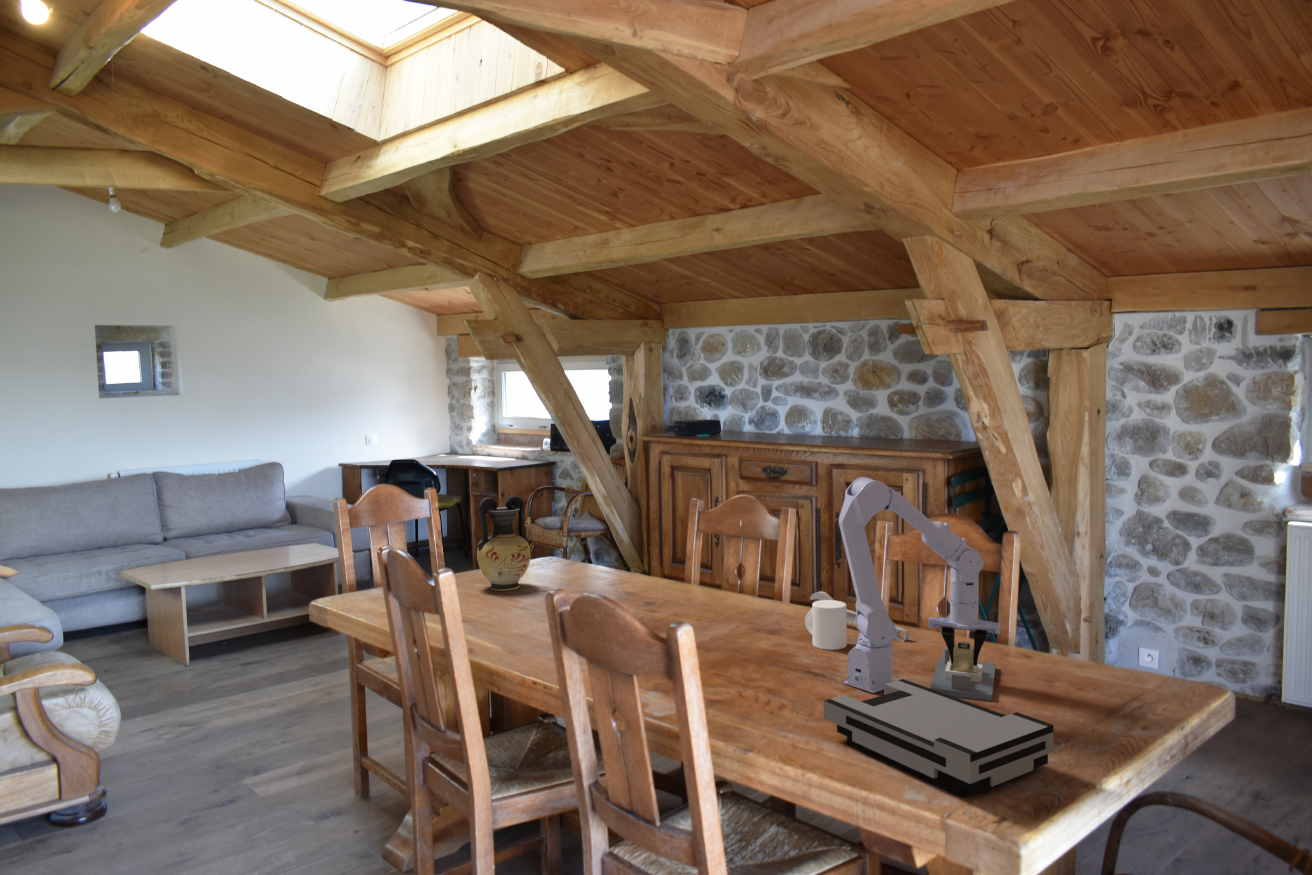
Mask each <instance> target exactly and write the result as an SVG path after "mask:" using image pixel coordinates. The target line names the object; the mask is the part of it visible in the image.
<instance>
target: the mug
mask: <svg viewBox="0 0 1312 875" xmlns="http://www.w3.org/2000/svg"><path fill="white" fill-rule="evenodd" d="M811 606H812V608H811V609H810V610H809V611H808V612H807V613H806V615H805V618H804V625H805V628H806V630H807V632H809V634H811V636H812V645H813V647H815V648H817V649H820V650H827V651H828V650H829V651H835V650H838V651H839V650H841V649H844V648H846V647H847V641H848V638H847V631H848V630H847V628H848V627H847V626H848V624H847V623H848V621H847V609H848V608H847V604H846V602H844V601H840V600H835V599H834V600H820V601H819V600H815V601H813V602H812V605H811Z"/></svg>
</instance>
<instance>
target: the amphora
mask: <svg viewBox="0 0 1312 875" xmlns="http://www.w3.org/2000/svg"><path fill="white" fill-rule="evenodd" d="M517 512H518V514H517ZM478 513H479V514H478V516H479V521H480V530H481V532H480V533H481V537H480V540H479V541H478V542H477V543H476V548H477V552H476V560H477V564H478V566H479V570H480V571H481V573H482V575H483V576H484V578H486V579H487V581H489V583H490V585H491V586H490V590H493V591H497V592H506V591H515V590H517V589H519V588H520V586H521V585H520V583H519V581H520V580H521V578H522V577H524V575H525V574H526V572H527V570H528V568H529V565H530V562H531V548H530V545H529V538H528V537H527V536H526V535H525V501H524V499H523V498H522V497H521V496H520V495H515V494H513V495H510V496H509V497H507V498H506V500H505V506H502V507H498V501H497V500H496V499H495V497H491V496H487V497H484V498H482V499H481V501H480V502H479V504H478ZM486 514H488V517H489V519H490V521H492V524H493V525H492V526H493V531H492V533H491V534H490V536H489V534H488V524H487V523H488V522H487V516H486ZM516 517H517V534H516V533H515V532H514V526H513V523H514V522H513V521H514V520H515V518H516Z"/></svg>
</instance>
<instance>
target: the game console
mask: <svg viewBox="0 0 1312 875" xmlns="http://www.w3.org/2000/svg"><path fill="white" fill-rule="evenodd" d="M896 680H897V681H894V682H890V683H886V684H884V690H883V693H884V694H883V695H879V696H876V697H872V698H868V699H865V700H862V701H860V700H858V699H856V698H853V697H850V696H848V695H846V694H843V695H839V696H836V697H832V698H828V699H825V700H823V720H826V721H828V722H831V723H833V724H835V725H836V732H837V733H838V734H841V735H842V736H845V737H846V745H847V746H850V747H851V748H853V749H856V750H858V751H860V752H862V753H863V754H867V755H869V756H870V757H873V758H875V759H876V760H880V761H882V762H883V763H886V764H888V765H890V766H892V767H894V768H896V769H898V770H900V771H902V772H905V773H907V774H909V775H912V776H914V777H915V778H917V779H920V780H921V781H924V782H926V783H929V784H930V785H933V786H934V787H937V788H939V789H941V790H943V791H945V792H948V793H950V794H952V795H953V796H956V797H959V798H961V799H963V798H966V797H967V796H968V797H969V796H970V795H973V794H975V793H978V792H981V791H983V790H986V789H987V788H989V787H994V786H995V787H996V786H997V785H1000V784H1002V783H1004V782H1008V781H1010V780H1012V779H1015V778H1017V777H1020V776H1023V775H1025V774H1027V773H1031V772H1032V771H1034V770H1036V769H1035V768H1037V769H1038V768H1040V767H1043V766H1045V765H1047V764H1049V755H1050V754H1051V753H1053V752H1054V724H1053V723H1049V722H1046V721H1044V720H1041V719H1038V718H1034V717H1032V716H1029V715H1026V714H1024V713H1020V712H1017V711H1016V712H1013V713H1009V714H1004V713H1002V712H998V711H995V710H993V709H989V708H987V707H984V706H981V705H979V704H975V703H973V702H969V701H966V700H964V699H961V698H959V697H953V696H950V695H947V694H944V693H941V692H939V691H936V690H933V689H930V687H927V686H924V685H921V684H919V683H916V682H914V681H910V680H907V679H904V678H902V679H896ZM1033 769H1034V770H1033Z"/></svg>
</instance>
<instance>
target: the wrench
mask: <svg viewBox="0 0 1312 875" xmlns="http://www.w3.org/2000/svg"><path fill="white" fill-rule="evenodd" d="M809 599H810V601H811V600H812V601H813V600H818V601H820V600H835V599H834V598H833V597H832V596H830V595H829V594H828V593H827V592H825V591H823V590H822V591H820V590H819V591H817V592H814V593H812V594H811V596H810V598H809ZM856 613H857V611H853V610H850V609H848V608H847V623H851V624H854V625H856V624H855V618H856ZM895 627H896V635H895V638H894V639H893V640H896V641H899V640H901V642H905V641H908V640H909V638H910V633H909V631H908V630H907V629H906V628H903V627H901V626H897V625H895ZM901 632H902V633H903V635H904V638H902V637H901Z"/></svg>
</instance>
